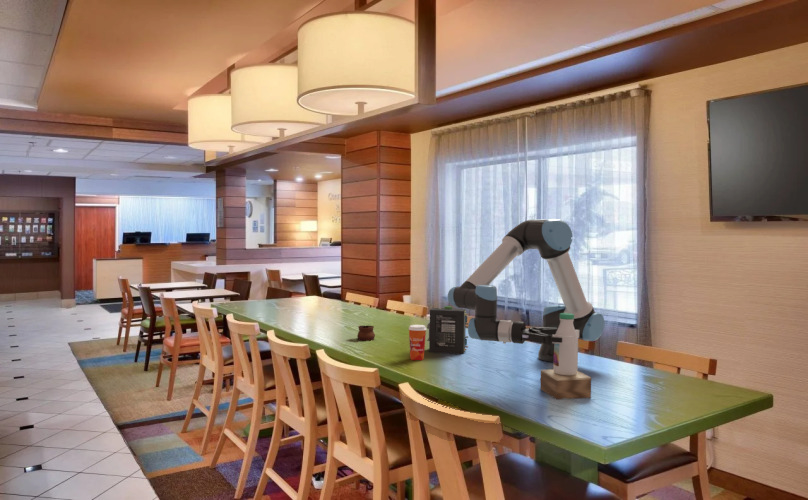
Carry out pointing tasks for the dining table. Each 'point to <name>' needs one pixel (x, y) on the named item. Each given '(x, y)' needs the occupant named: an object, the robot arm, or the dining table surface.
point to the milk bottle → (566, 348)
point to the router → (447, 330)
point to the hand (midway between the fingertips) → (576, 337)
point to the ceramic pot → (365, 333)
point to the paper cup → (417, 341)
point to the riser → (566, 385)
